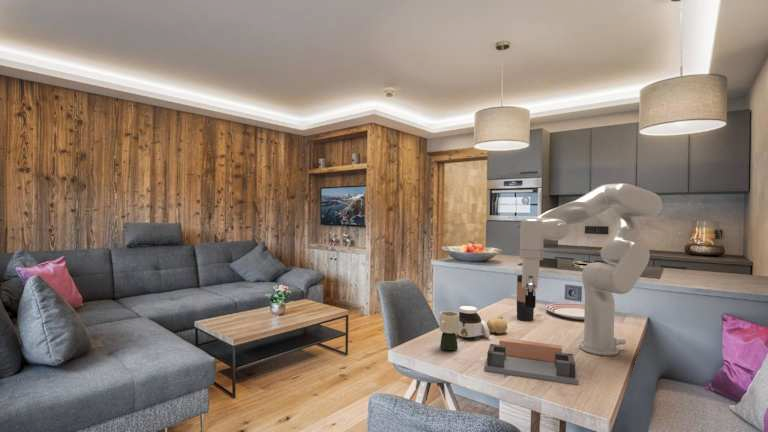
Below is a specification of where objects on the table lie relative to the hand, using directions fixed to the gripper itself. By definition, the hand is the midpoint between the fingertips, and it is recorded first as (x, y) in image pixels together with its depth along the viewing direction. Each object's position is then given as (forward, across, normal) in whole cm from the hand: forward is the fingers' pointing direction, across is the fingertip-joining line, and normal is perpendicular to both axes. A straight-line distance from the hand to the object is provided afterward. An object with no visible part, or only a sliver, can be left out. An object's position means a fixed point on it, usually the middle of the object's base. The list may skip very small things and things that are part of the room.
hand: (530, 304), depth 136 cm
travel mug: (+18, -49, -2) cm, 53 cm away
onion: (+18, -24, -13) cm, 32 cm away
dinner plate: (+18, -67, +21) cm, 73 cm away
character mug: (+18, +3, -27) cm, 33 cm away
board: (+18, +13, 0) cm, 22 cm away
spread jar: (+18, -14, -21) cm, 31 cm away
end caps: (+17, +13, 0) cm, 21 cm away
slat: (+18, 0, 0) cm, 18 cm away
